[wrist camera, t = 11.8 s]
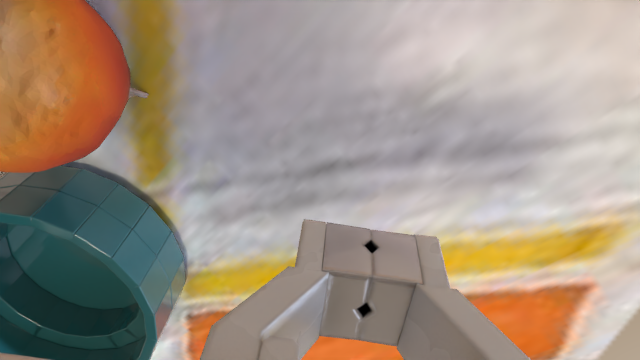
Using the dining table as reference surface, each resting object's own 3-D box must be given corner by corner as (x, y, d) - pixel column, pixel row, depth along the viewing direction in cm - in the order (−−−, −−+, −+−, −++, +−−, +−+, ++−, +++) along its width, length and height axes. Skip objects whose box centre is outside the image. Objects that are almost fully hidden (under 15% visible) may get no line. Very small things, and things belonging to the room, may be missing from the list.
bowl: (-42, 144, 25) (-127, 194, 20) (184, 175, 25) (145, 233, 20) (11, 306, 31) (-45, 370, 27) (191, 332, 31) (163, 401, 26)
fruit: (79, 193, 24) (-105, 207, 16) (31, 54, 24) (-167, 5, 17) (204, 130, 21) (57, 112, 14) (148, -22, 22) (-22, -119, 14)
